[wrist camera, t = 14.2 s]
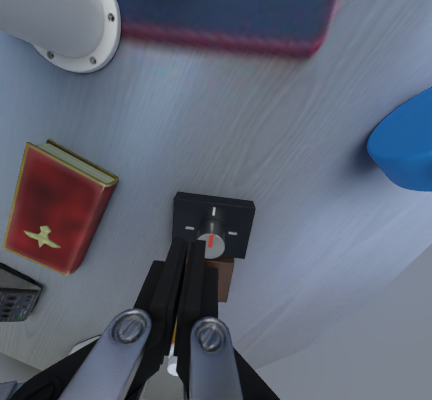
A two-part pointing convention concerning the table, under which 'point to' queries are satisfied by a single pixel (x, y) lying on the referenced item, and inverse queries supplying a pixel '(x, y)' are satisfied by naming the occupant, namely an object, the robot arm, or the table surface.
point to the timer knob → (212, 237)
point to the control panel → (218, 210)
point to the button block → (221, 273)
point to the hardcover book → (56, 207)
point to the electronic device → (16, 295)
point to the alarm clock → (406, 144)
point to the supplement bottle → (172, 357)
